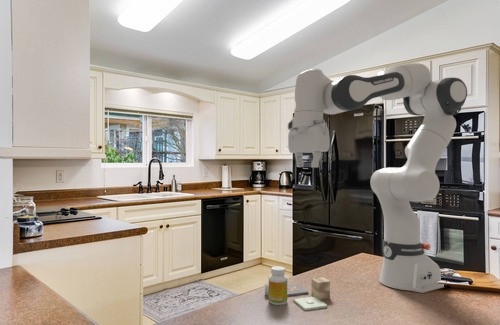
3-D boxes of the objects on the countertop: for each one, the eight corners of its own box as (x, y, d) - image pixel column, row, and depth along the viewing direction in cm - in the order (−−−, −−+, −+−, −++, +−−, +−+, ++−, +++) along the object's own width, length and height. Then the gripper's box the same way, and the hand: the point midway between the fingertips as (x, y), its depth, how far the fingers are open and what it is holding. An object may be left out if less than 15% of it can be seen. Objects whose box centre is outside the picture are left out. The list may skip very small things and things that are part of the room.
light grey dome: (277, 290, 112) (277, 281, 112) (283, 296, 107) (284, 286, 107) (262, 292, 110) (262, 282, 110) (268, 298, 105) (268, 288, 105)
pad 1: (298, 286, 116) (298, 284, 116) (308, 293, 109) (308, 291, 109) (278, 288, 113) (278, 286, 113) (287, 296, 107) (287, 293, 107)
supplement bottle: (286, 306, 99) (286, 271, 99) (267, 304, 100) (267, 270, 100) (288, 299, 105) (288, 266, 105) (270, 297, 106) (270, 264, 106)
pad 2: (314, 298, 105) (314, 296, 105) (327, 307, 99) (327, 305, 99) (293, 301, 103) (293, 298, 103) (304, 310, 96) (304, 308, 96)
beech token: (323, 293, 110) (323, 277, 110) (329, 298, 106) (330, 281, 106) (311, 294, 108) (311, 278, 108) (318, 299, 104) (318, 282, 104)
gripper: (335, 119, 100) (334, 168, 100) (302, 126, 120) (301, 167, 120) (316, 117, 98) (314, 167, 98) (285, 125, 118) (284, 166, 118)
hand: (307, 167), depth 109 cm, fingers open, 8 cm apart
